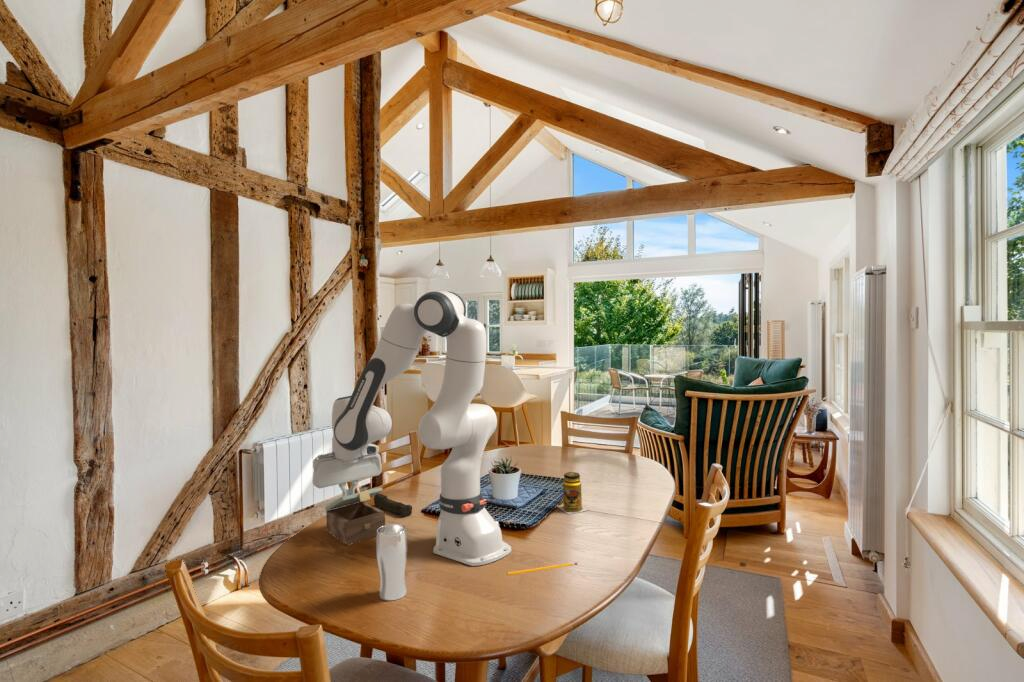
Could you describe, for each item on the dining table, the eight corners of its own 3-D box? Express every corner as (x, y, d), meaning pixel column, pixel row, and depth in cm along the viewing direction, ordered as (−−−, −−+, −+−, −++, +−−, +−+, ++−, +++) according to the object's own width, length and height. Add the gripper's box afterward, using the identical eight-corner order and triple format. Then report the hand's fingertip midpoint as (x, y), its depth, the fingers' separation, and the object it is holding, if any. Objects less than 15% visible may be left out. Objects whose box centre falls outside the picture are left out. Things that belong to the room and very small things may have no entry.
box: (386, 534, 150) (386, 512, 149) (348, 546, 141) (347, 523, 141) (363, 521, 160) (363, 501, 160) (327, 532, 152) (326, 510, 152)
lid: (385, 495, 150) (382, 486, 151) (345, 505, 142) (343, 496, 143) (365, 506, 160) (363, 497, 161) (326, 516, 152) (325, 507, 152)
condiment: (568, 514, 163) (567, 477, 163) (556, 506, 171) (555, 471, 171) (587, 511, 166) (587, 474, 166) (574, 503, 174) (574, 468, 173)
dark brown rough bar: (413, 516, 165) (412, 501, 165) (402, 519, 163) (402, 505, 163) (381, 503, 178) (381, 490, 178) (371, 506, 175) (371, 493, 175)
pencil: (577, 566, 128) (577, 563, 128) (508, 576, 123) (508, 573, 123) (576, 564, 128) (576, 562, 128) (507, 574, 124) (507, 572, 124)
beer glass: (380, 587, 118) (378, 524, 118) (410, 585, 119) (408, 522, 119) (374, 603, 111) (372, 535, 111) (406, 600, 112) (404, 534, 112)
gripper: (317, 458, 139) (318, 507, 140) (383, 446, 153) (384, 490, 154) (308, 454, 144) (309, 501, 144) (374, 442, 158) (374, 486, 158)
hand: (348, 496), depth 149 cm, fingers closed, pressing on lid
